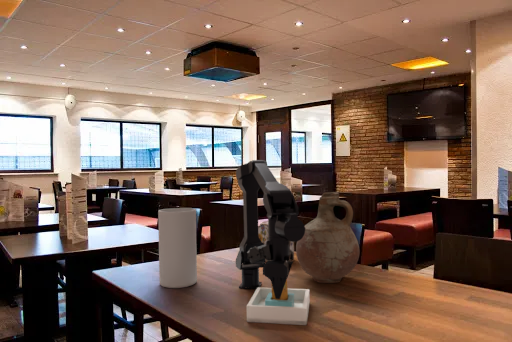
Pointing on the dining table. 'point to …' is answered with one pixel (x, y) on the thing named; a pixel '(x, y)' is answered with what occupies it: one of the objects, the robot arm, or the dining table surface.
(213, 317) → the dining table surface
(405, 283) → the dining table surface
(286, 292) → the supplement box
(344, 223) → the jug
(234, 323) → the dining table surface
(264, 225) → the decorative jar
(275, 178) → the robot arm
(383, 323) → the dining table surface
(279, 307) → the walled tray
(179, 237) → the cylinder vase
